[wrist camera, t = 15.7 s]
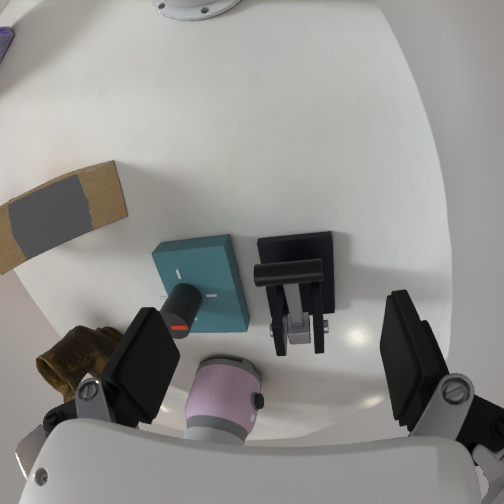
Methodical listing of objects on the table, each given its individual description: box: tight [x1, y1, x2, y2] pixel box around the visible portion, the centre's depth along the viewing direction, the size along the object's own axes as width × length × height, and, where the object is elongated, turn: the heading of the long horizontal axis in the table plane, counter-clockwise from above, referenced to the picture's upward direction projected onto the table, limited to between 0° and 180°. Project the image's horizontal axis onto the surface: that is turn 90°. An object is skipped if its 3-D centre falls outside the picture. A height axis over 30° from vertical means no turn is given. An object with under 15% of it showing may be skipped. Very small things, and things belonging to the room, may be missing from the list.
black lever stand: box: [257, 231, 335, 356], centre depth 32 cm, size 12×9×12 cm
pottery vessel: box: [36, 325, 123, 403], centre depth 43 cm, size 25×11×20 cm, turn 18°
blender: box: [183, 359, 264, 445], centre depth 35 cm, size 16×12×32 cm
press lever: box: [254, 259, 323, 344], centre depth 25 cm, size 12×5×2 cm, turn 10°
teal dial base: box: [152, 235, 250, 333], centre depth 38 cm, size 14×11×3 cm
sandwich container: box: [0, 161, 128, 275], centre depth 29 cm, size 9×15×15 cm, turn 98°
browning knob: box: [159, 283, 202, 339], centre depth 35 cm, size 4×4×6 cm
